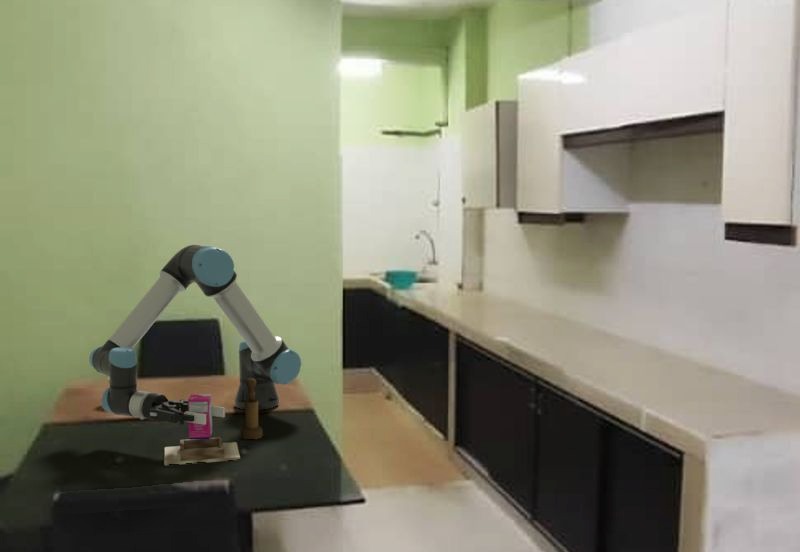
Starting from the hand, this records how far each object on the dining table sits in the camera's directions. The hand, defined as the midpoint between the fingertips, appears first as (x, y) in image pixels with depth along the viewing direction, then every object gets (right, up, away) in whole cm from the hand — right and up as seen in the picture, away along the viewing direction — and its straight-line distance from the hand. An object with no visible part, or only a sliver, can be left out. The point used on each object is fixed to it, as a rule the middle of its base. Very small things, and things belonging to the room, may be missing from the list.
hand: (214, 415), depth 226 cm
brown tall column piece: (+6, -10, +22) cm, 25 cm away
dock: (-5, -12, +4) cm, 13 cm away
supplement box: (-4, -6, +3) cm, 8 cm away
